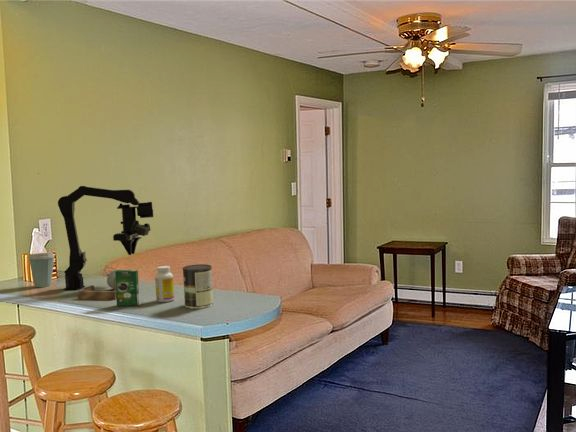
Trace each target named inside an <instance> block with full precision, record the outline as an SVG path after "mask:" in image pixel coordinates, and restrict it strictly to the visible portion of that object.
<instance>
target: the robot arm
mask: <svg viewBox="0 0 576 432" xmlns="http://www.w3.org/2000/svg"><path fill="white" fill-rule="evenodd" d="M84 196H88V197H97V198H104V199H110V200H111V199H112V200H115V201H118V202H120V203H119V205H118V206H117V207H116V209H117V210H119V209H120V210H121V219H122V220H121V221H120V225H122V230H121V232H118V233H114V234H113V235H112V240H113V241H114V242H115V241H116V242H119V243H121V245H122V246H123V247H124V249H125V251H126V253H127V254H128V256H131V255H134V254H135V252H136V249H137V245H138V241H140V240H141V239H142V236H143V237H145V236H149V233H150V232H151V230H152V229H151V227H150V226H151V225H150V224H151V223H144V224H140V221H139V220H137V217H140V219H147V218H154V208H153V202H152V201H148V202H140V201H139V200H138V199H137V198H136V194H135V192H134V191H133V190H132V189H114V190H113V189H107V188H99V187H92V186H87V185H80V186H78V188H77V189H75V190H74V191H72V192H71V193H69V194H68V195H64V196H61V197H60V198H59V199H58V200H57V206H58V208H59V211H60V213H61V215H62V217H63V220H64V225H65V231H66V235H67V236H66V237H67V242H68V246H69V261H68V262H69V264H68V265H69V266H68V267H67V268H66V269H65V271H64V282H65V287H63V290H65V291H66V290H67V291H68V290H69V291H77V290H78V291H79V290H81V289H83V288H86V285H84V277H83V273H81V271H82V270H83V269H84V268H85V266H86V264H87V261H88V259H87V257H86V251H83V252H82V250H81V247H80V243H79V242H80V241H79V237H78V231H77V226H76V225H77V224H76V221H75V219H76V218H75V211H76V210H75V209H76V208H75V205H76V204H75V203H76V202H77V201H79V200H81V198H83V197H84ZM131 205H132V206H131Z"/></svg>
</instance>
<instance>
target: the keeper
mask: <svg viewBox="0 0 576 432" xmlns="http://www.w3.org/2000/svg"><path fill="white" fill-rule="evenodd" d="M83 288H84V289H83V290H78V291H77V296H78V300H109V301H110V300H113V301H115V300H116V290H115V289H113V290H112V291H111V290H108V291H107V290H95V285H94V284H93V285H92V284H91V285H88V286H85V287H83Z"/></svg>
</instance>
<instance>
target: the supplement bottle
mask: <svg viewBox="0 0 576 432" xmlns="http://www.w3.org/2000/svg"><path fill="white" fill-rule="evenodd" d="M156 270H157V273H156V274H155V276H154V278H155V279H154V280H155V281H154V282H155V296H156V301H157V303H170V302H173V301H174V300H175V288H174V287H175V286H174V285H175V283H174V275H173V273H172V272H171V271H170V270H171V267H170V266H169V265H163V266H157V267H156Z"/></svg>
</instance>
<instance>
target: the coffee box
mask: <svg viewBox="0 0 576 432" xmlns="http://www.w3.org/2000/svg"><path fill="white" fill-rule="evenodd" d="M114 271H115V278H116V306H117V307H124V306H125V307H129V306H132V307H134V306H137V307H138V306H139V304H140V294H139V293H140V291H139V287H140V286H139V270H138V269H117V270H114Z"/></svg>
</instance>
